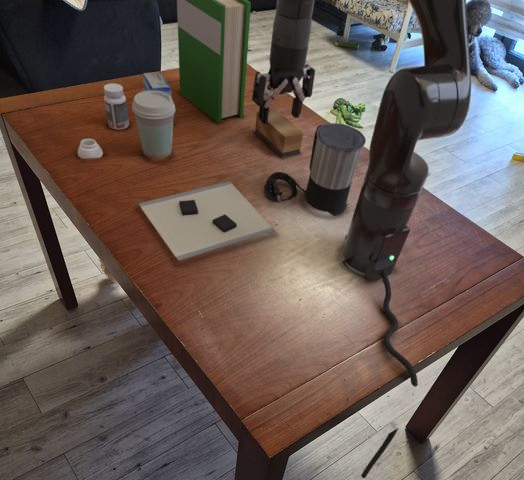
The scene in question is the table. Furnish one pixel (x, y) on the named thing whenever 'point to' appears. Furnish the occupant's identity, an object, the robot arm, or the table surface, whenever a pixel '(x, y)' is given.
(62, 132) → the table surface
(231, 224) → the smudge
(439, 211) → the table surface
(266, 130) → the eraser
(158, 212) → the board
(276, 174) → the milk frother
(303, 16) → the robot arm
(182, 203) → the smudge
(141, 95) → the coffee cup
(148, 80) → the medicine box
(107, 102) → the pill bottle
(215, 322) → the table surface
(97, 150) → the white jar
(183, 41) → the hardback book
